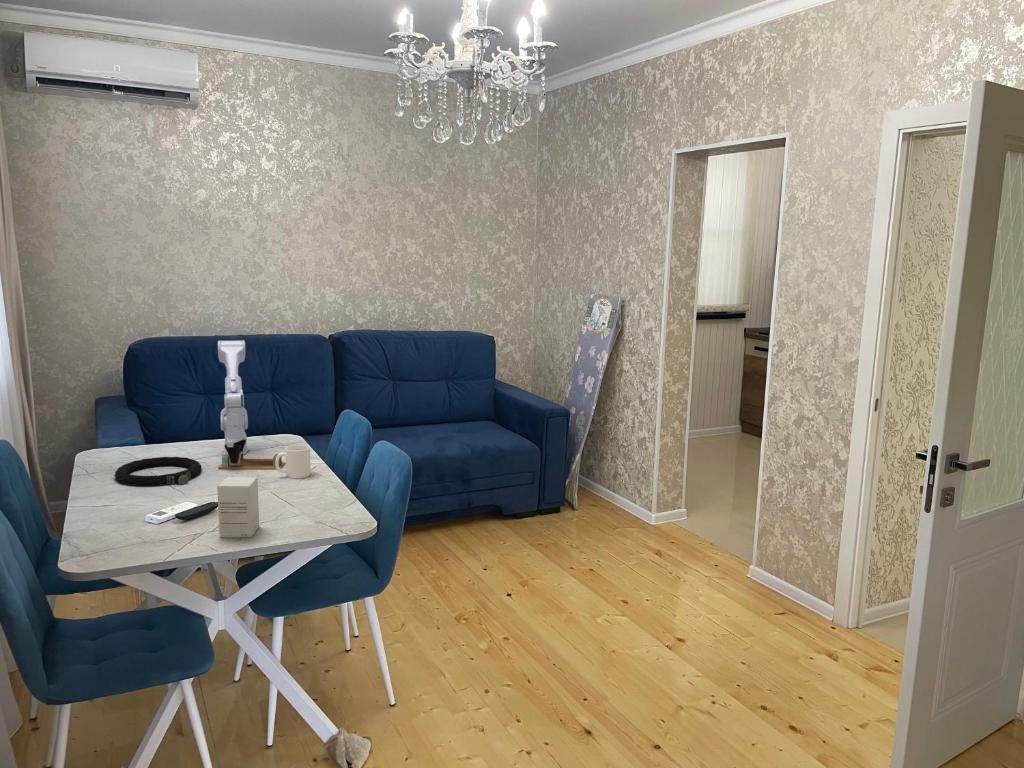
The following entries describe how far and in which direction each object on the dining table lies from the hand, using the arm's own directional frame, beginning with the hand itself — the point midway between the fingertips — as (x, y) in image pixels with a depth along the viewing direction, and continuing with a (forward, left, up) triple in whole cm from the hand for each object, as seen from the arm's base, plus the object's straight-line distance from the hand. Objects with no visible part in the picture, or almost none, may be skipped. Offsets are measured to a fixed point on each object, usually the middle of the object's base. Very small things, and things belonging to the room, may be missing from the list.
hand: (236, 461), depth 274 cm
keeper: (0, 0, -2) cm, 2 cm away
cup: (+12, +23, -2) cm, 26 cm away
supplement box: (+66, +19, -2) cm, 69 cm away
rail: (0, +6, -2) cm, 6 cm away
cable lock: (+12, -22, -2) cm, 25 cm away
